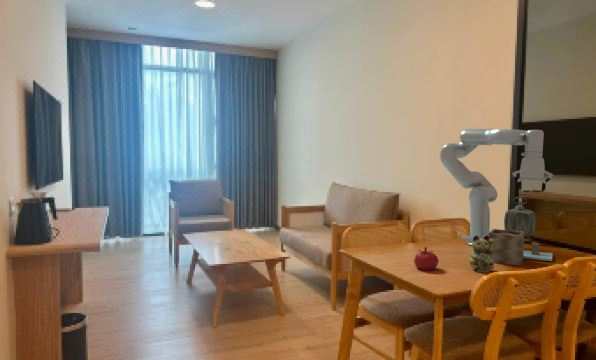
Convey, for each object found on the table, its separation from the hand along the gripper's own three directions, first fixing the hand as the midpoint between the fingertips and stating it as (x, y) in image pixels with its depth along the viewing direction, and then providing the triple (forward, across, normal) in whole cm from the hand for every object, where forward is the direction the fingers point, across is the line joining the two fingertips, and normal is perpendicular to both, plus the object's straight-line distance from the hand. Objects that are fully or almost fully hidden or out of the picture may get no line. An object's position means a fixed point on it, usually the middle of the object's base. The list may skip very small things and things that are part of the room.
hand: (531, 190), depth 201 cm
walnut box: (+31, -6, -23) cm, 39 cm away
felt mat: (+31, +4, -9) cm, 32 cm away
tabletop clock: (+32, -8, +29) cm, 43 cm away
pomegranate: (+32, -31, -57) cm, 73 cm away
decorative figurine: (+31, -12, -46) cm, 57 cm away
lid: (+30, +4, -9) cm, 32 cm away
